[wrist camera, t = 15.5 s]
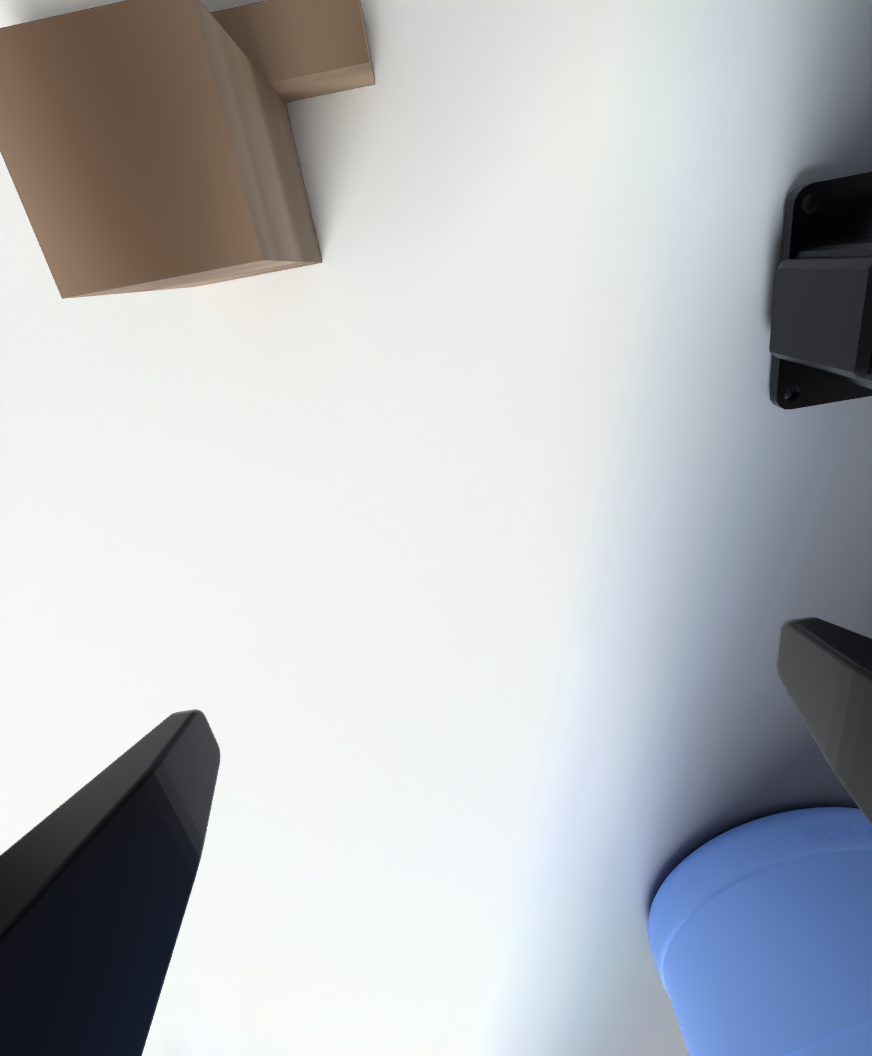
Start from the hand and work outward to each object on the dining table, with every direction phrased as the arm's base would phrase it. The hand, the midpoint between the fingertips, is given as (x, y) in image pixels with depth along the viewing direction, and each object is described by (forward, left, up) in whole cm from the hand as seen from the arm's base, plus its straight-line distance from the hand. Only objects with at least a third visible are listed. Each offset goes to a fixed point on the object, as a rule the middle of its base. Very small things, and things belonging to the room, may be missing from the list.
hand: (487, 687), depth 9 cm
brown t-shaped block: (+5, -9, -12) cm, 16 cm away
